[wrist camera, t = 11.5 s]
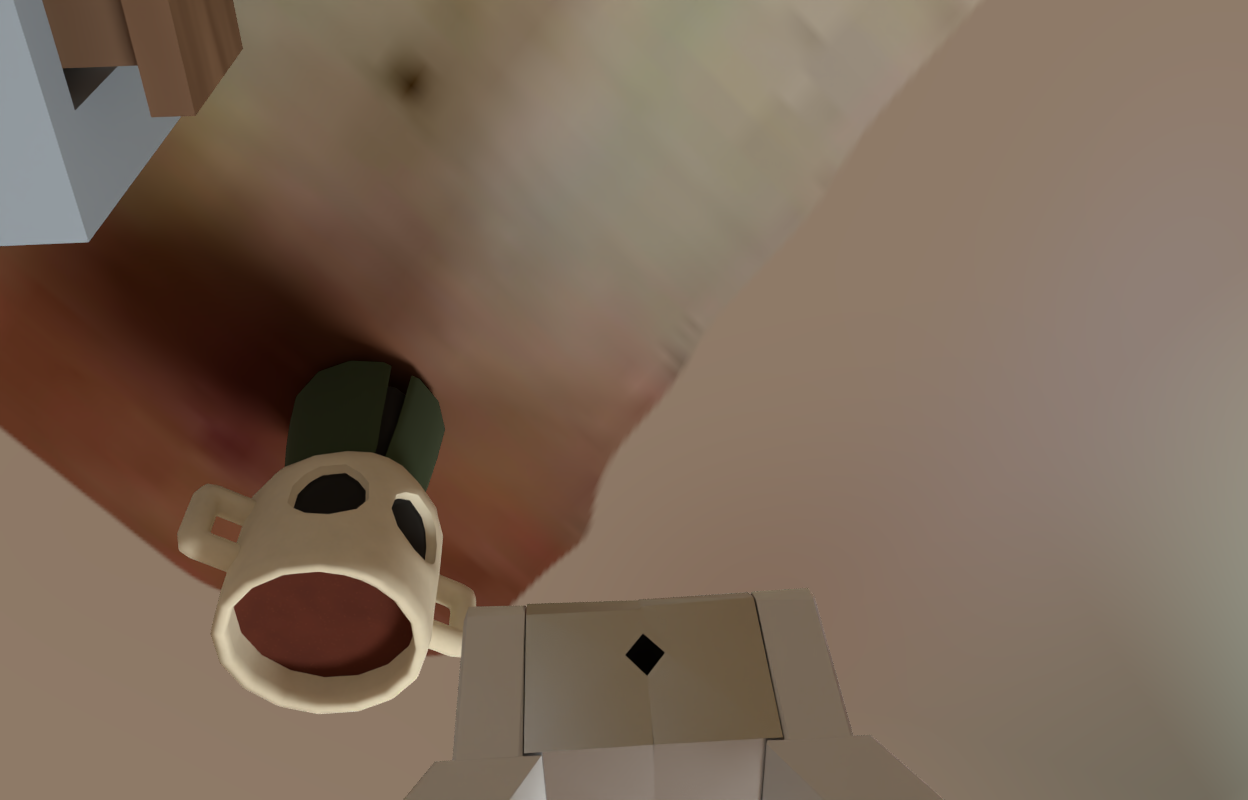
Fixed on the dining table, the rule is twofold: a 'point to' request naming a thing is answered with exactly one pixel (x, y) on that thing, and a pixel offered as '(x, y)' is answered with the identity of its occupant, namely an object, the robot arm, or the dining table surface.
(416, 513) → the character mug
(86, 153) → the grey rectangular block
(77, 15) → the shaft
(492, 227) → the dining table surface
